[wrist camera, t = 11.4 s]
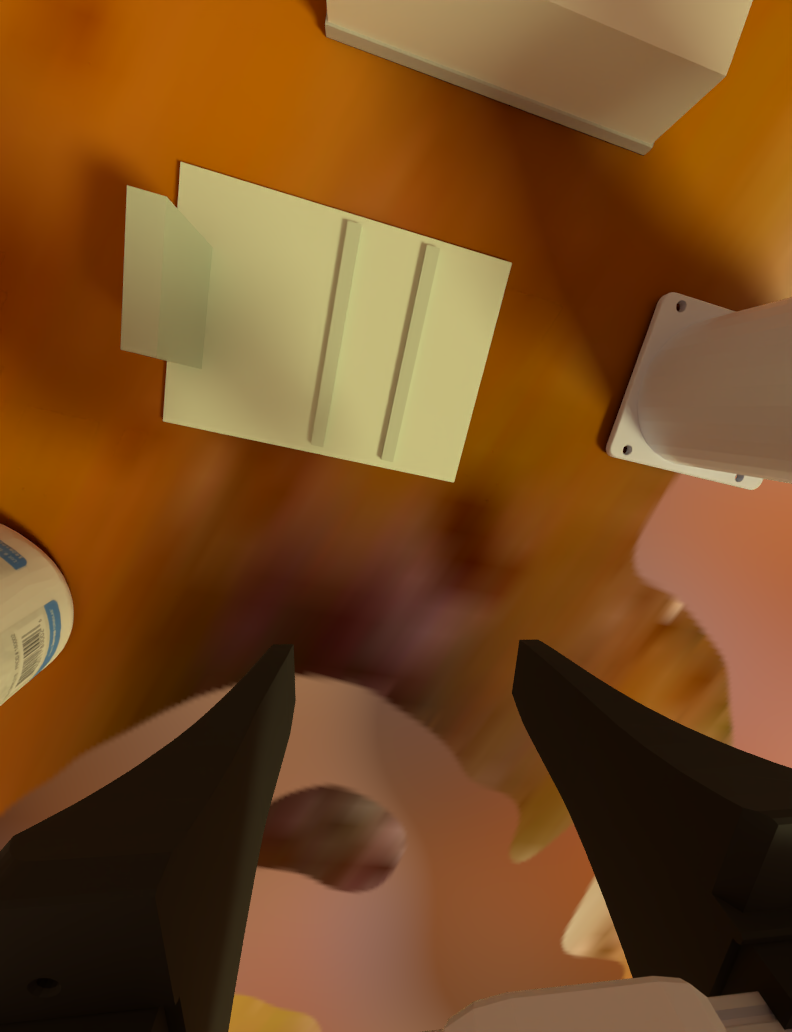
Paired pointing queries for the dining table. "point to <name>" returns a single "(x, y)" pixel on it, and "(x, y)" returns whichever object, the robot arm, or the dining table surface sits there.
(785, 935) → the robot arm
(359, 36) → the block
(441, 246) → the lid
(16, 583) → the supplement tub
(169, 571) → the dining table surface
